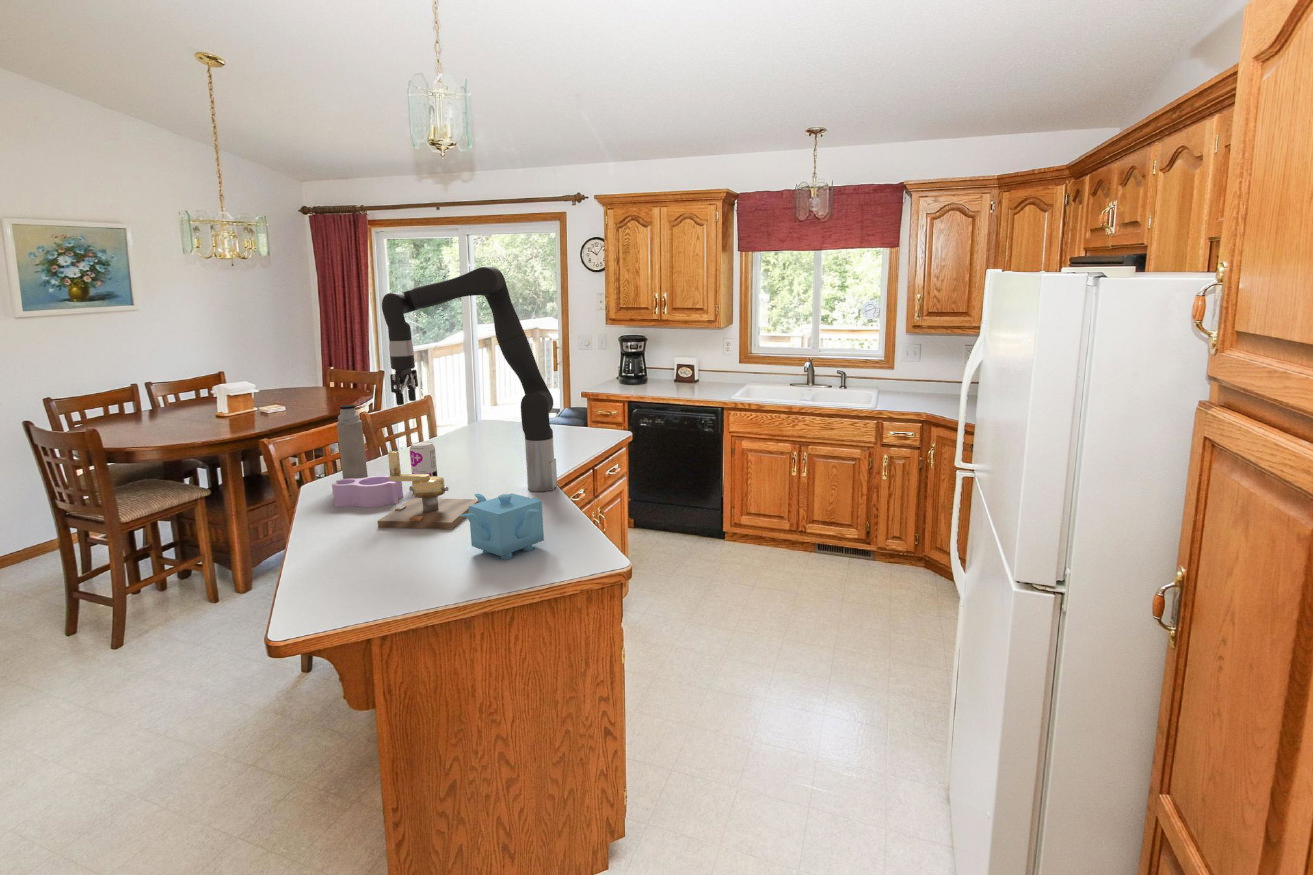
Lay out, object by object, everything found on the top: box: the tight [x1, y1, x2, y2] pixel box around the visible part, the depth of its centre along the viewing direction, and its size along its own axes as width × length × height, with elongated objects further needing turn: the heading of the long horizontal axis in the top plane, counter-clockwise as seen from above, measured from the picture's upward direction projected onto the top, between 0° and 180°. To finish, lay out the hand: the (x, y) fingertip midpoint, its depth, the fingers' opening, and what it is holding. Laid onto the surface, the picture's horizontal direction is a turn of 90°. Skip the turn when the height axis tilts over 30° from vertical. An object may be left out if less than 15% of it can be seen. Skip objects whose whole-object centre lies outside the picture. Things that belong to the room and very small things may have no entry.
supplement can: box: [409, 441, 439, 477], centre depth 243 cm, size 8×8×15 cm
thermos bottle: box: [336, 404, 369, 479], centre depth 246 cm, size 8×8×28 cm
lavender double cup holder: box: [331, 475, 404, 508], centre depth 228 cm, size 20×12×7 cm, turn 95°
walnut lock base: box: [377, 496, 479, 530], centre depth 212 cm, size 22×22×7 cm
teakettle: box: [460, 493, 545, 560], centre depth 182 cm, size 19×19×15 cm
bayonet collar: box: [387, 450, 449, 498], centre depth 210 cm, size 17×9×12 cm, turn 83°
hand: (406, 402), depth 238 cm, fingers open, 8 cm apart
